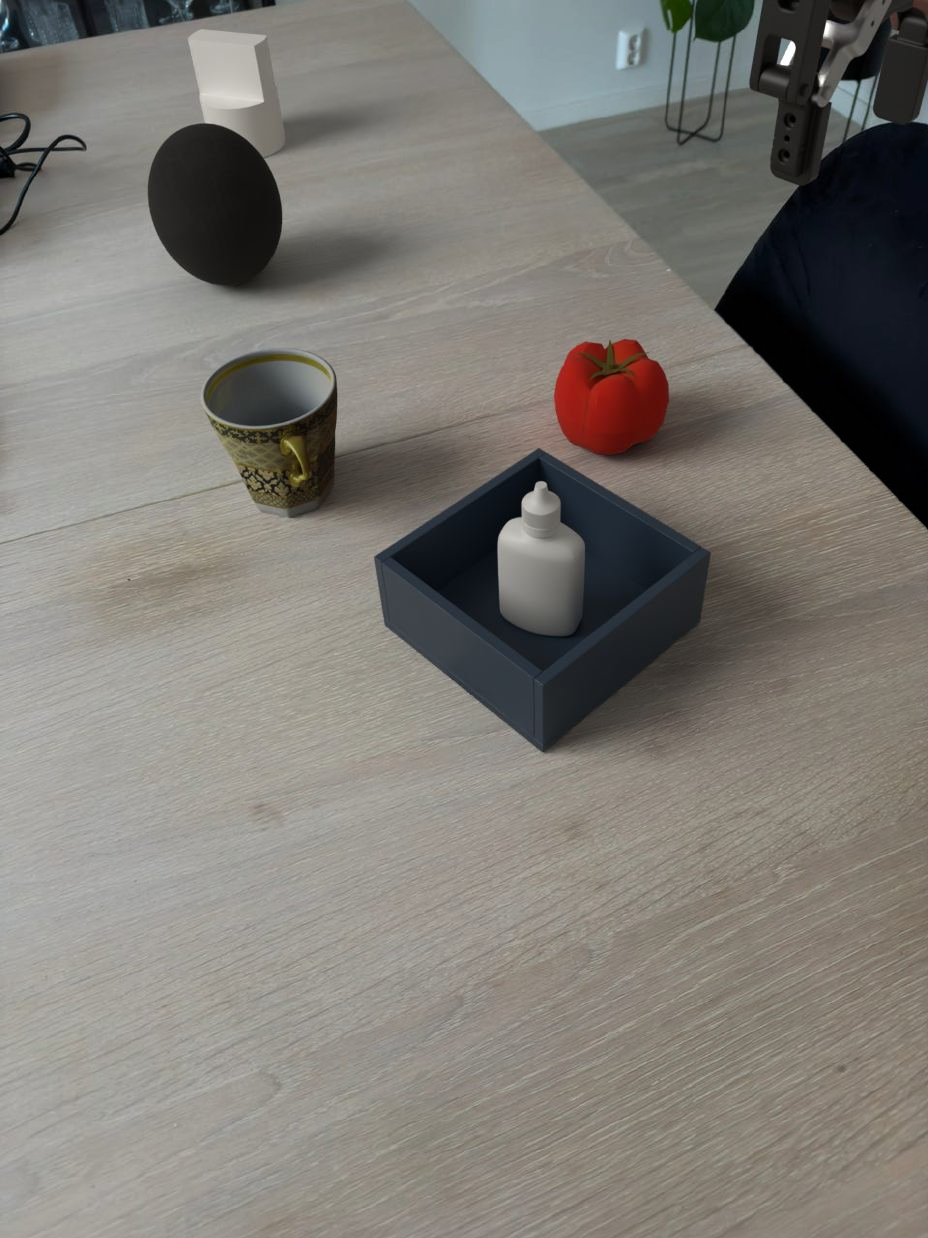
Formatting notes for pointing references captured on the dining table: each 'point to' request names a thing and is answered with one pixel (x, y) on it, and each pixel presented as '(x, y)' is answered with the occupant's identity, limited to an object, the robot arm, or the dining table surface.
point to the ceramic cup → (277, 425)
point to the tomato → (610, 396)
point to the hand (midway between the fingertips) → (845, 147)
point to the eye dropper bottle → (541, 568)
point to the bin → (527, 662)
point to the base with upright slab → (238, 86)
